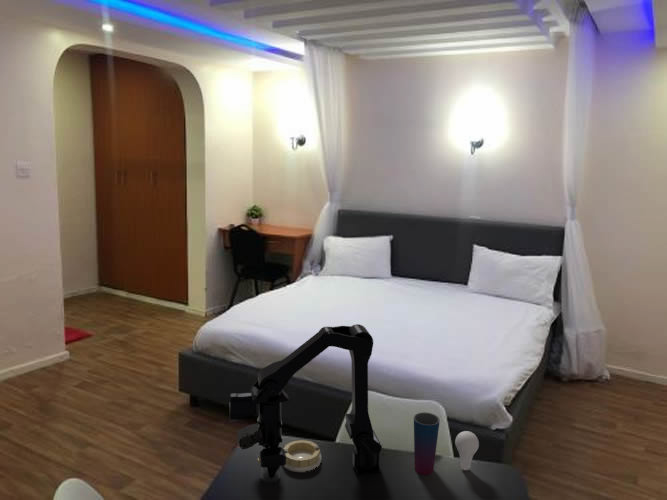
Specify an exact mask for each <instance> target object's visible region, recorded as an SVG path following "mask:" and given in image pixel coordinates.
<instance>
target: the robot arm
mask: <svg viewBox="0 0 667 500" xmlns="http://www.w3.org/2000/svg"><path fill="white" fill-rule="evenodd" d="M373 338H374V337H373V336H372V335H371V334H370V333H369V331H368V330H367V328H366V327H365V326H364V325H362V324H353V325H351V326H350V325H338V326H323V327H322V328H320V329H319V330H318V331H317V332H316V333H315V334H313V335H312V336H311V337H310V338H308V340H306V341H305V342H304V343H303V344H301V345H300V346H298V347H297V348H296V349H295V350H294V351H293V352H291V353H290V354H288V355H287V356H286V357H285V358H283V359H281V360H278V361H274V362H272V363H270V364H269V365H267V366H265V367H263V368H262V369H261V370H260V371H259V372H258V374H257V380H256V381H255V382H254V383H253V385H252V386H251V387H250V392H245V393H244V392H243V393H236V392H235V393H232V392H231V393H230V394H229V400H230V401H229V402H228V403H229V404H228V405H229V422H237V421H238V422H239V421H240V422H241V421H250V420H253V419H255V416H257V405H258V417H257V419H256V420H257V422H256V423H253V424H250V425H247V426H245V427H243V428H240V429H238V430H237V431H236V440H237V442H238V446H239V448H240V449H241V450H247V449H250V448H251V447H253V446H255V445H257V444H258V446H261V447H262V448H263V450H262V449H261V450H262V451H261V450H260V451H261V452H260V451H259V458H260V463H259V464H260V468H261V467H263V468H265V467H267V470H268V474H269V478H274V476H275V474H276V472H277V470H278V468H279V466H280V467H281V466H282V467H284V465H286V455H285V450H284V449H283V448H284V447H282V446H280V443H283V435H282V428H283V421H282V403H288V402H289V401H290V398H289V395H288V393H287V392H285V391H284V389H285V387H286V386H287V385H288V384H289V383H290V381H291V379H292V377H293V376H295V374H296V373H298V372H299V371H301V370H302V368H305V366H306V365H308V364H309V363H310V362H311V361H313V360H314V359H315V358H316V357H318V356H320V354H321V353H323V352H324V351H325V350H327V349H328V348H329V347H333V348H339V349H343V350H346V351H348V352H349V356H350V360H351V410H350V412H349V413H345V414H344V416H345V425H344V428H345V430H346V433H347V435H348V437H349V439H350V440H352V442H353V444H354V449H352V452H351V453H352V454H351V455H352V458H351V461H352V462H351V463H352V466H353V469H355V471H356V474H357V475H363V474H371V473H372V474H373V473H380V472H382V469H381V466H380V453H381V451H382V448H383V446H382V444H381V442H380V440H379V438H378V437H377V434H376V432H375V430H374V429H373V425H372V421H371V418H370V414H369V361H370V358H371V357H372V353H373V347H374V339H373ZM268 447H269V448H268ZM264 448H265V449H264Z"/></svg>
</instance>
